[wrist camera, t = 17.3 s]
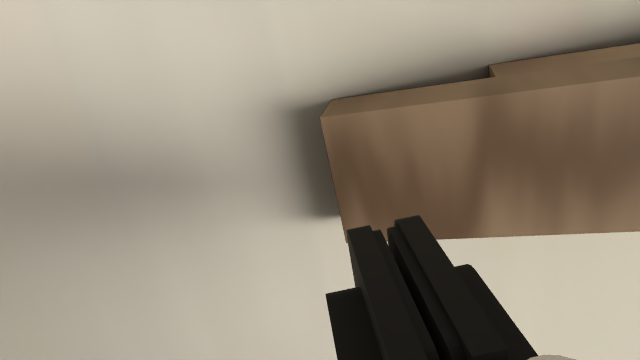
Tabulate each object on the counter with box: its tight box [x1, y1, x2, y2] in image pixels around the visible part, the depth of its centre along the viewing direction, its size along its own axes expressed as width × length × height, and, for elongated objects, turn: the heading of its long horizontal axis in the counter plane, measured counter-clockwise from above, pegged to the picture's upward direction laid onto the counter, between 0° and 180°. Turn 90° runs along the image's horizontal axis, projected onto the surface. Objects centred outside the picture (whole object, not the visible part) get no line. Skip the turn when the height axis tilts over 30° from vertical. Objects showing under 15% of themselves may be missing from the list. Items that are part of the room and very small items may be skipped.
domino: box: [320, 57, 640, 243], centre depth 15 cm, size 5×2×10 cm
